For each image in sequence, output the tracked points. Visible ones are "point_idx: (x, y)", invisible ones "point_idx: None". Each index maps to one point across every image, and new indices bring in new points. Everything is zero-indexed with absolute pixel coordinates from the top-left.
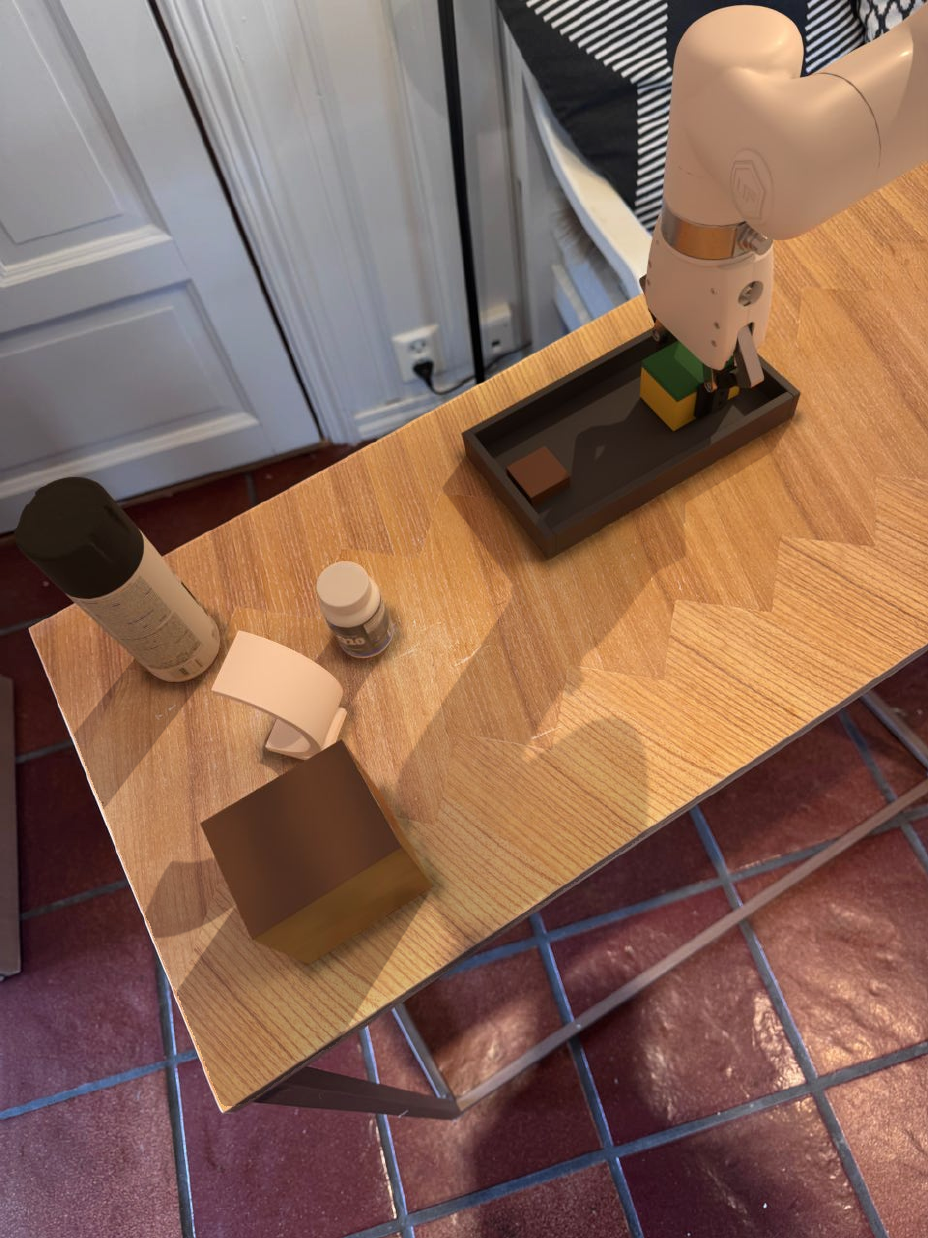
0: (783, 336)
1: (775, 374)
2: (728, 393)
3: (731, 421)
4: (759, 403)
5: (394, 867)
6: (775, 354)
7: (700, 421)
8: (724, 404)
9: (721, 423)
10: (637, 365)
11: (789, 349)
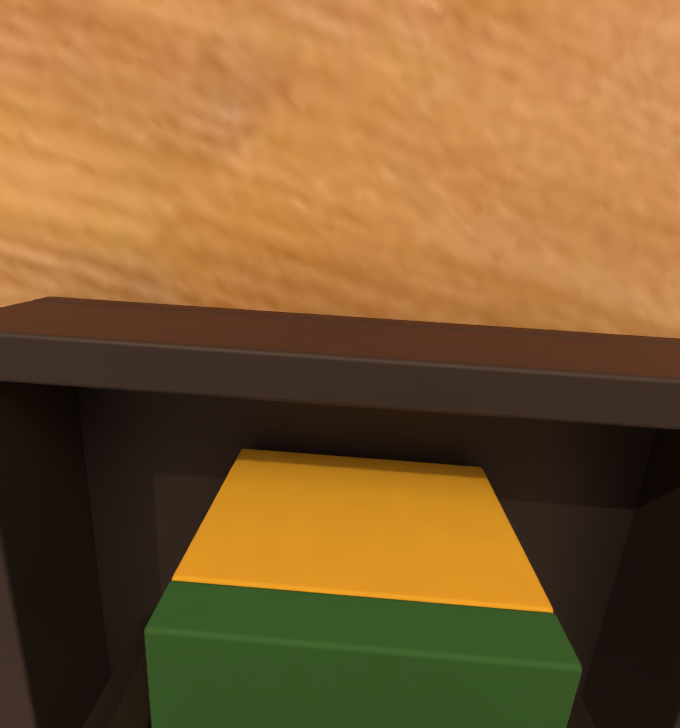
0: (335, 9)
1: (652, 407)
2: (593, 724)
3: (548, 553)
4: (571, 424)
5: None
6: (397, 137)
7: None
8: None
9: None
10: (114, 611)
11: (420, 54)
